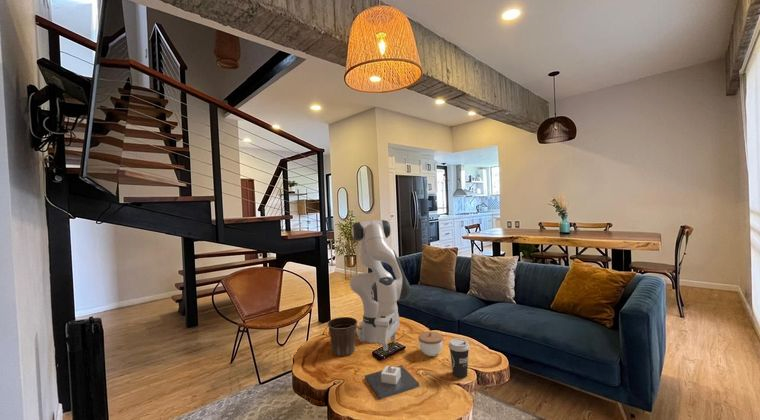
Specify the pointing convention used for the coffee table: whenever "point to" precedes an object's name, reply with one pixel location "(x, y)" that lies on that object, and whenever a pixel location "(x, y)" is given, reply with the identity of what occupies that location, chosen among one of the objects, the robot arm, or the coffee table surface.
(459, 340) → the coffee cup
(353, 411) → the coffee table surface
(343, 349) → the plant pot
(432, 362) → the coffee table surface
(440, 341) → the lidded bowl
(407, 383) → the base plate
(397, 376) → the collar
